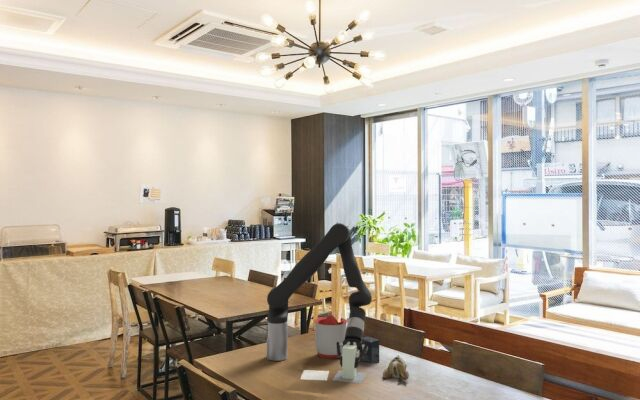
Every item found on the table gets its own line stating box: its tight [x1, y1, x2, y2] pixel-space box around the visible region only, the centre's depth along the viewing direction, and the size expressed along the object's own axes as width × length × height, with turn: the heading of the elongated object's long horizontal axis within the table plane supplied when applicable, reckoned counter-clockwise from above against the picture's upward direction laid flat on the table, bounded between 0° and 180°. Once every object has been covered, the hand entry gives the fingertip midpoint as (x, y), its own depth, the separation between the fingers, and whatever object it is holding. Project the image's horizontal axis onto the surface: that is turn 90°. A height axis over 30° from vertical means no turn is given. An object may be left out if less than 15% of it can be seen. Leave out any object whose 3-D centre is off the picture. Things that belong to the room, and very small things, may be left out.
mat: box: [300, 369, 330, 382], centre depth 205 cm, size 11×11×1 cm
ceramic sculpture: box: [382, 354, 410, 381], centre depth 206 cm, size 11×9×15 cm
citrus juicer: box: [314, 314, 348, 360], centre depth 235 cm, size 16×17×20 cm
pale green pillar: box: [341, 345, 358, 379], centre depth 204 cm, size 5×5×12 cm
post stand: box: [332, 370, 367, 384], centre depth 204 cm, size 12×12×6 cm
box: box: [358, 336, 380, 364], centre depth 226 cm, size 8×6×11 cm
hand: (348, 366), depth 202 cm, fingers closed on pale green pillar, 5 cm apart
